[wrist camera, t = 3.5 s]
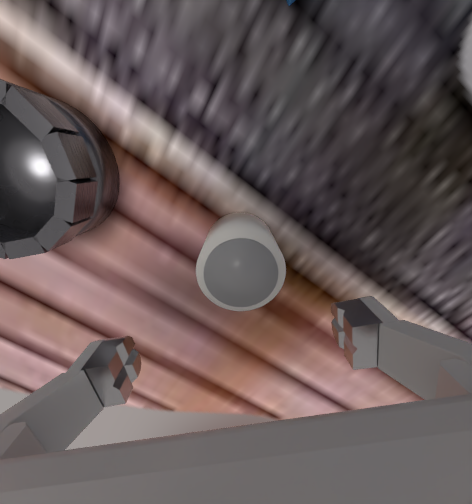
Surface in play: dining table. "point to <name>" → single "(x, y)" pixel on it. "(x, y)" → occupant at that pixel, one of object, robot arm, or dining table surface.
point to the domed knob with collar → (50, 173)
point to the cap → (240, 263)
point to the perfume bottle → (290, 2)
